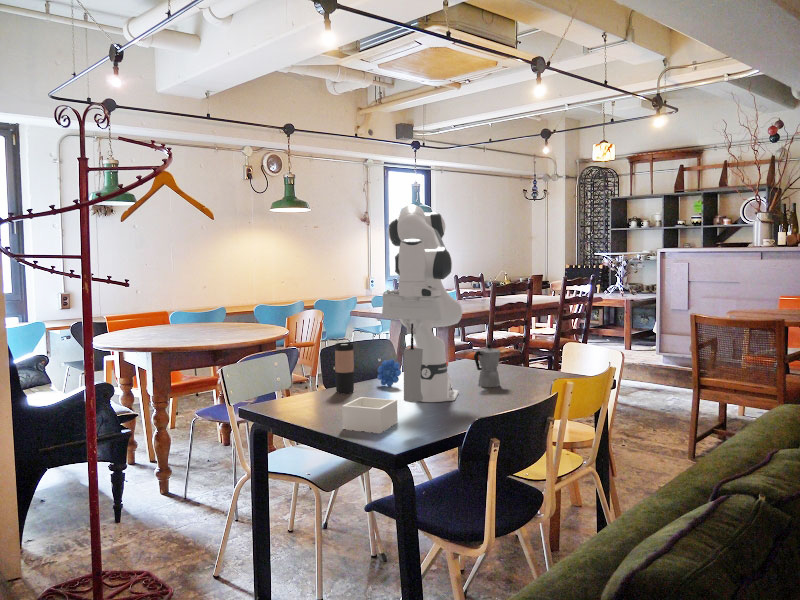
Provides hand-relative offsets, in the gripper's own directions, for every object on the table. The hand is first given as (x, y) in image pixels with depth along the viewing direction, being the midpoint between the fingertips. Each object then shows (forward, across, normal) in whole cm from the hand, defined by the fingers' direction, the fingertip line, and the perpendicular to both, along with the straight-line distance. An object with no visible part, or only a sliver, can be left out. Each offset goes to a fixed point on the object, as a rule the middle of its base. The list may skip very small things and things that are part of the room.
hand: (412, 333), depth 207 cm
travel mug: (+32, -48, +44) cm, 72 cm away
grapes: (+32, -35, +61) cm, 77 cm away
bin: (+31, -15, -1) cm, 35 cm away
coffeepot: (+32, +4, +75) cm, 81 cm away
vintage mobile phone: (+22, 0, -1) cm, 22 cm away
